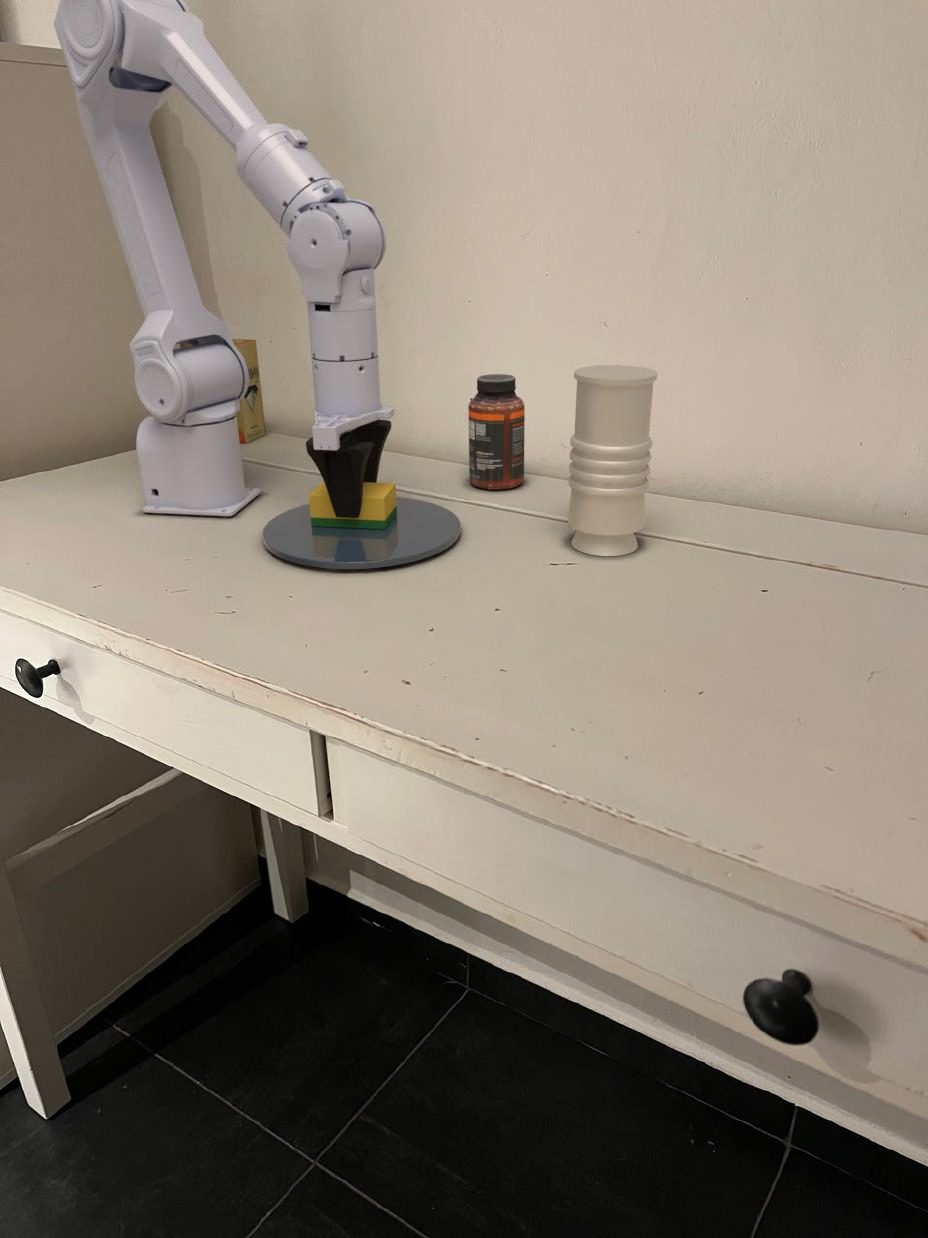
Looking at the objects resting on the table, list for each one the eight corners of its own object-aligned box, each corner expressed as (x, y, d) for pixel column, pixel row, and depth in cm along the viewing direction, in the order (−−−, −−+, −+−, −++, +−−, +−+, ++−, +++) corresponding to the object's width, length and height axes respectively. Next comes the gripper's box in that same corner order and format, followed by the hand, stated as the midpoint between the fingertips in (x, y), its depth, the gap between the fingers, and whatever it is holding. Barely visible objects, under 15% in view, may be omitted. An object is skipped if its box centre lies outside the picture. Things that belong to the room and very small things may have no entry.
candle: (658, 542, 79) (674, 371, 72) (614, 564, 74) (627, 383, 68) (595, 525, 83) (605, 362, 77) (550, 545, 79) (556, 373, 72)
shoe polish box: (212, 440, 114) (199, 343, 109) (233, 431, 118) (221, 338, 113) (246, 443, 113) (234, 345, 107) (265, 433, 117) (255, 339, 112)
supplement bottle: (525, 476, 98) (527, 371, 93) (522, 492, 93) (525, 382, 88) (471, 475, 99) (470, 371, 94) (466, 491, 93) (465, 381, 88)
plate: (231, 567, 75) (230, 556, 74) (301, 501, 91) (300, 492, 90) (440, 579, 72) (440, 567, 71) (474, 509, 88) (474, 499, 87)
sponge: (311, 526, 81) (308, 494, 79) (326, 510, 85) (323, 480, 83) (385, 529, 80) (384, 497, 78) (397, 513, 84) (395, 482, 82)
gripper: (368, 372, 69) (377, 536, 75) (408, 344, 82) (414, 486, 87) (281, 370, 70) (297, 532, 76) (335, 343, 83) (345, 483, 89)
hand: (355, 507), depth 82 cm, fingers closed on sponge, 4 cm apart
